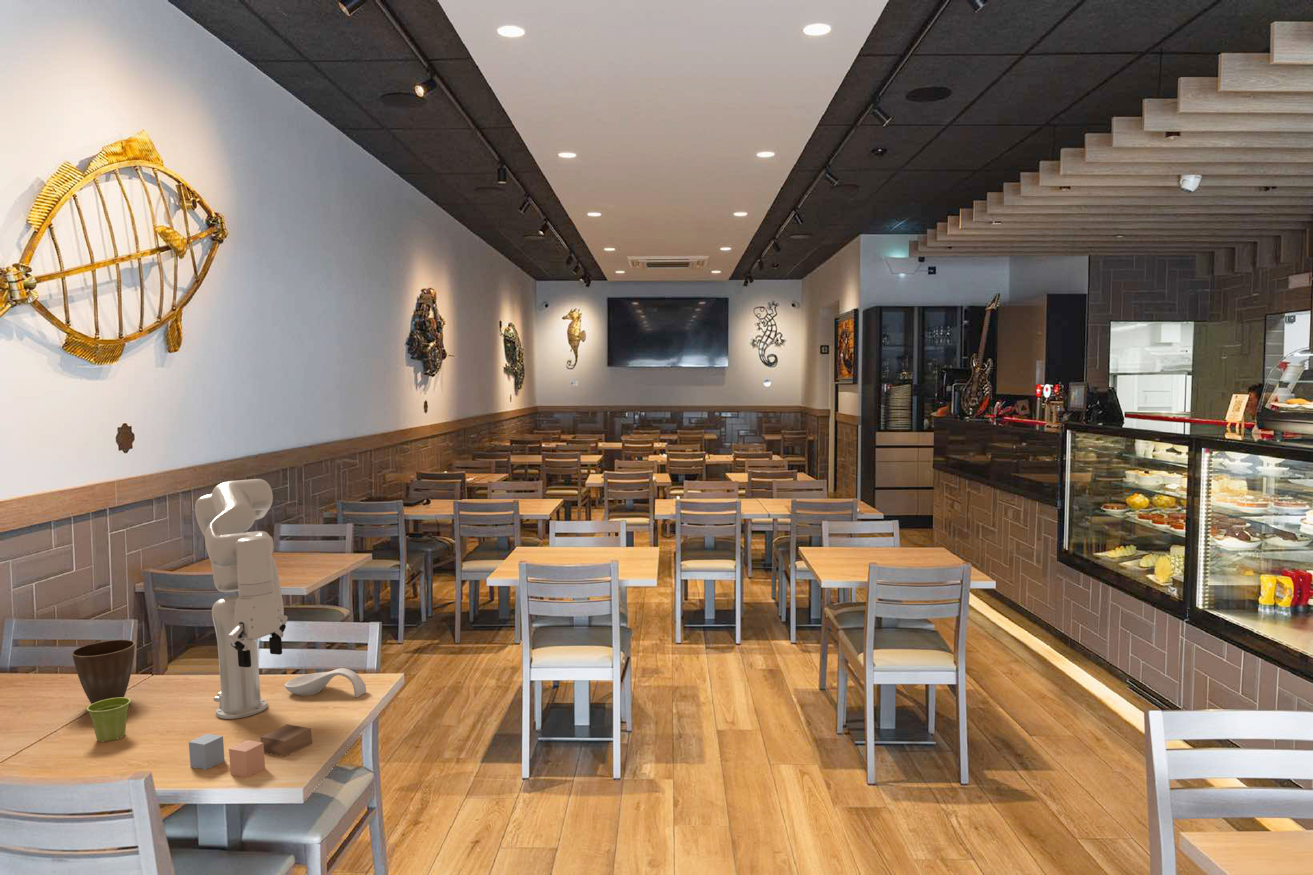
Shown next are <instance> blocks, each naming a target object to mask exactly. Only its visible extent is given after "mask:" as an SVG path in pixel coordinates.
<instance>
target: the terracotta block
mask: <svg viewBox="0 0 1313 875" xmlns="http://www.w3.org/2000/svg"><path fill="white" fill-rule="evenodd" d="M228 754H229V757H228V758H229V769H230V770H229V771H230V772H229V773H230V776H236V777H241V778H246V779H247V778H250V777H251V776H253V775H255V774H256V773H259V772H261V771H262V770H265V769H266V763H265V762H266V761H265V752H264V745H263V743H262V742H261V741H254V740H249V739H246V740H244V741H242V742H240V743H238V744H236V745H235V746H231V747H230V748H228Z"/></svg>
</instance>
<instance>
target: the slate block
mask: <svg viewBox="0 0 1313 875" xmlns="http://www.w3.org/2000/svg"><path fill="white" fill-rule="evenodd" d="M224 746H225V745H224V736H223V735H219V734H218V735H217V734H212V733H206V734H203V735H201V736H199V737H197V738H194V739H192V740H190V741H188V748H189V749H188V752H189V764H190V765H189V766H190V768H192V767H194V768H193V769H198V768H202V769H201V770H203V769H205V771H207V769H208V768H210V769H211V767H212V768H213V766H214V767H215V766H218V765H220V764H221V762H222V763H223V762H225V761H226V760H225V759H226V758H225V749H224ZM217 764H218V765H217ZM195 767H196V768H195ZM208 770H209V769H208Z"/></svg>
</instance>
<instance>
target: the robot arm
mask: <svg viewBox="0 0 1313 875" xmlns="http://www.w3.org/2000/svg"><path fill="white" fill-rule="evenodd" d="M273 495H274V494H273V490H272V487H271V485H270V483H268V482H267V481H266V480H264V479H262V478H254V479H253V478H250V479H242V480H241V479H240V480H239V479H238V480H229V481H224V482H221V483H219V484H216V486H215V487H214V488H213V489H212V492H211V493H210V494H205V495H202V496H200V497H199V498H198V499H196V501H195V505H194V511H195V517H196V522H197V524H198V525H197V526H198V527H199V529H200V532H201V533H202V535H203V537H204V544H205V547H206V548H205V549H206V551H207V554H208V559H209V561H210V564H211V570H212V572H211V573H212V577H213V583H214V586H215V588H216V590H217V591H219V592H221V593H231V592H238V594H234V595H233V594H232V595H227V596H224V597H222V598H219V599H218V600H216V601H215V602H214V603H213V605H212V608H211V617H212V621H213V622H212V623H213V626H214V631H215V637H216V641H217V642H216V643H217V651H218V652H217V653H218V665H219V666H218V667H219V681H220V682H219V683H220V685H219V686H220V691H219V692H218V693H217V694H216V696H214V698H213V702H216V703H218V704H219V706H218V707H217V708H216V710H215V715H216V718H217V717H218V718H220V719H224V720H225V719H226V720H232V719H233V720H234V719H242V718H246V717H251V716H254V715H257V714H259V713H261V712H263V711H265V710H266V709H267V708H268V701H267V700H266V699H264V698H261V697H262V696H261V682H260V681H261V680H260V667H259V666H260V665H259V655H258V654H259V652H258V651H259V650H258V644H257V641H256V640H257V639H261V638H263V637H266V636H269V635H270V637H269V638H268V640H269V641H268V642H269V653H270V655H276V656H277V655H279V656H280V655H282V654H283V642H282V638H283V637H284V633H285V630H286V628H287V626H286V625H287V621H288V616H287V615H284V612H285V611H284V610H285V609H284V600H283V596H282V589H281V583H280V576H279V571H278V566H277V562H276V560H275V558H274V556H272V555H273V553H274V549H275V548H274V546H275V545H274V540H273V537H272V536H270V534H269V533H268V532H267V531H264V530H258V531H257V530H256V531H255V530H254V531H248V530H250V529H251V528H252V526H253V525H254V524H255V521H256V520H257V521H258V520H260V519H263V518H265V516H266V515H267V513H268V511H269V510H270V508H271V506H272V505H273V501H274V499H273V498H274V496H273ZM247 531H248V532H247Z"/></svg>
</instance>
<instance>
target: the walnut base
mask: <svg viewBox="0 0 1313 875" xmlns="http://www.w3.org/2000/svg"><path fill="white" fill-rule="evenodd" d="M312 737H313V736H312V728H311V727H307V726H306V727H305V726H299V725H293V724H285V725H283V726H280V727H278V728H276V729H274V730H272V731H269V732H267V733H265V734H263V735H261V736H260V742H262V743H263V745H264V754H265V753H266V754H270V753H272V754H271V755H275V754H277V755H276V756H280V755H282V757H285V756H286V757H288V756H290V755H292V754H294V753H295V752H298V751H300V750H301V749H304V748H306V747H308V746H310V745H312V744H313V738H312ZM291 753H292V754H291ZM287 755H288V756H287Z"/></svg>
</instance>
